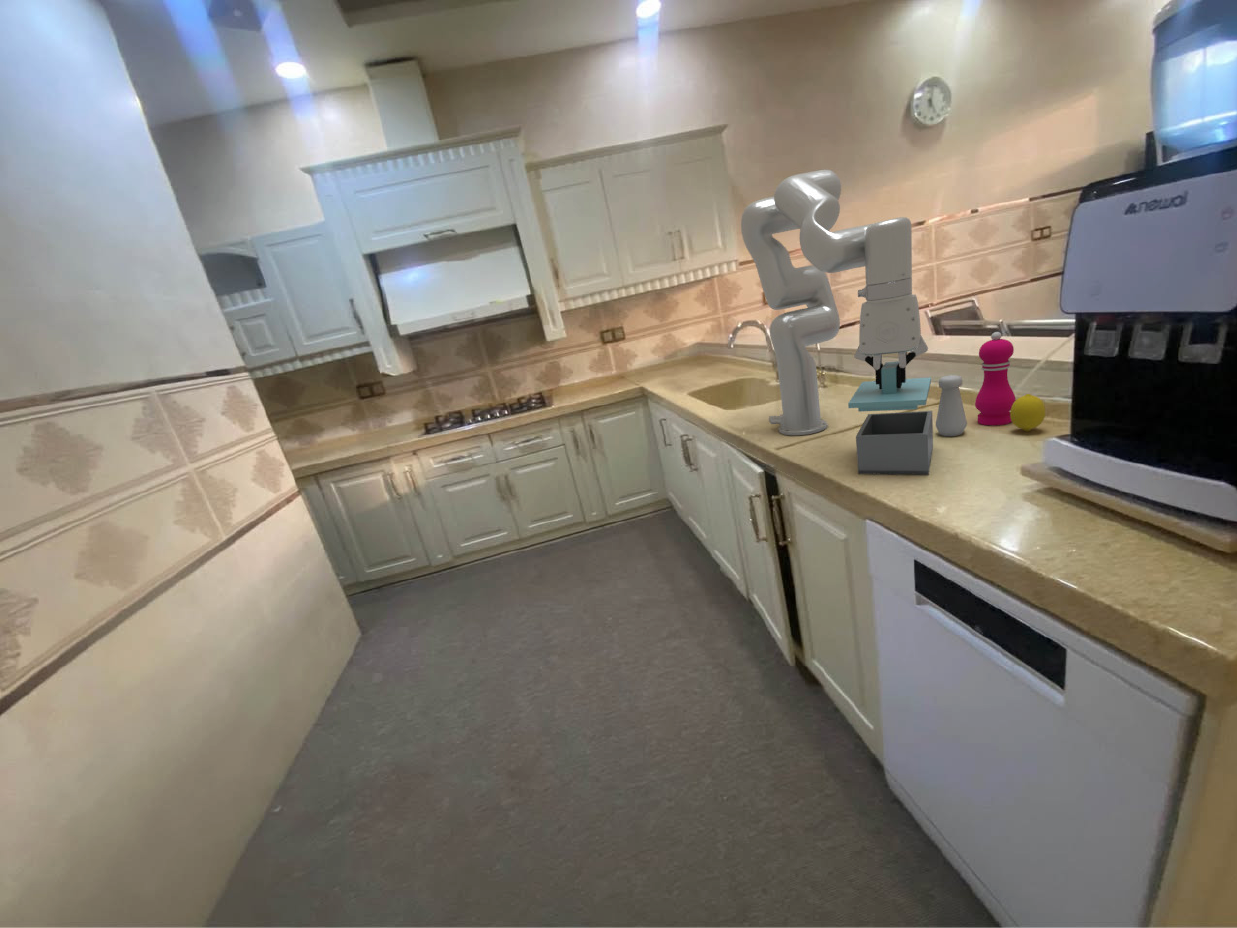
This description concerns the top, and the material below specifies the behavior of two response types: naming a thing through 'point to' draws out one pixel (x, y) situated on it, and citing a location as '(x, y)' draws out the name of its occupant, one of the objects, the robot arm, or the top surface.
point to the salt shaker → (950, 407)
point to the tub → (895, 443)
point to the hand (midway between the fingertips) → (890, 386)
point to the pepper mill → (995, 382)
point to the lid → (891, 392)
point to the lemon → (1027, 412)
